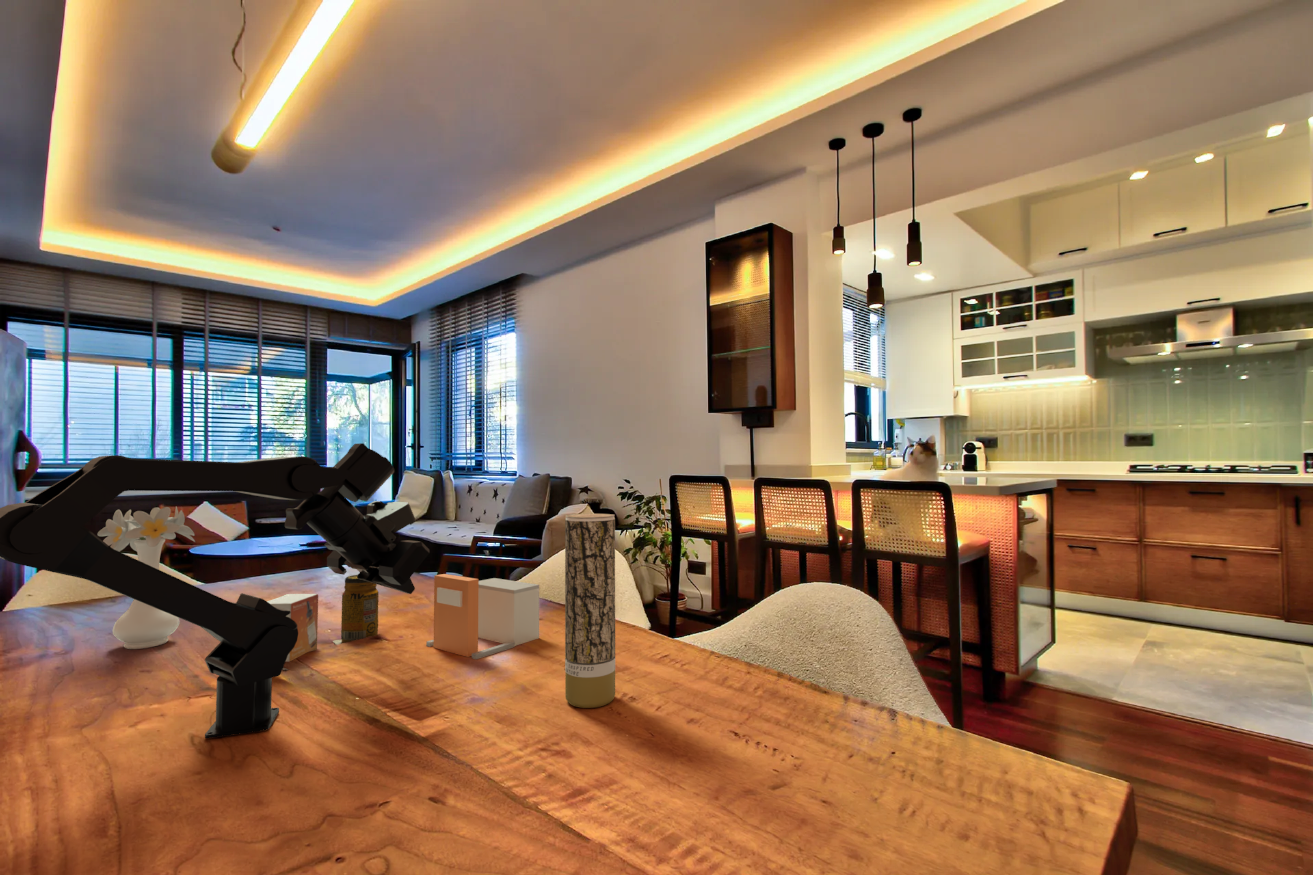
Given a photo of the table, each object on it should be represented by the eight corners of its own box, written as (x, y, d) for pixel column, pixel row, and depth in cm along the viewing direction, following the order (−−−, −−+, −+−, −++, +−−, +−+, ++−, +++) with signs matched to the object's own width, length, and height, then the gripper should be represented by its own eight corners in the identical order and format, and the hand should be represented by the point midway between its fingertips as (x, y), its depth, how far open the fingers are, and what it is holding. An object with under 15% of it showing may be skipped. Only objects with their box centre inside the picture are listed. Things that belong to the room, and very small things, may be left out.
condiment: (374, 634, 116) (375, 571, 117) (387, 644, 110) (388, 577, 110) (332, 642, 112) (333, 576, 112) (343, 652, 105) (344, 582, 106)
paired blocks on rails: (448, 679, 92) (448, 606, 92) (394, 662, 100) (395, 595, 100) (544, 646, 108) (544, 584, 108) (492, 634, 116) (492, 577, 116)
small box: (289, 671, 96) (290, 603, 96) (253, 671, 96) (255, 603, 96) (318, 655, 104) (319, 592, 104) (285, 655, 104) (287, 593, 104)
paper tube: (607, 711, 79) (607, 517, 80) (557, 707, 80) (557, 517, 82) (621, 692, 86) (620, 513, 87) (574, 689, 87) (574, 513, 88)
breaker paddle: (465, 657, 97) (465, 581, 98) (430, 648, 102) (431, 575, 103) (478, 653, 99) (478, 579, 100) (443, 644, 104) (444, 573, 105)
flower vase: (147, 631, 120) (151, 503, 121) (213, 639, 114) (217, 504, 115) (65, 650, 108) (70, 507, 109) (134, 660, 102) (139, 509, 103)
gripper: (418, 484, 86) (481, 554, 94) (348, 483, 97) (410, 546, 105) (363, 547, 79) (436, 616, 88) (294, 538, 90) (365, 600, 98)
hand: (411, 591), depth 95 cm, fingers closed
